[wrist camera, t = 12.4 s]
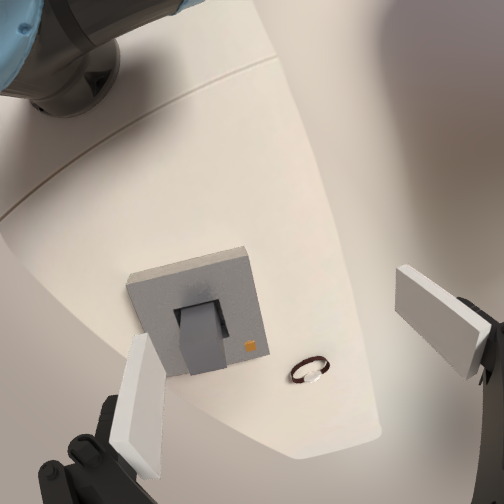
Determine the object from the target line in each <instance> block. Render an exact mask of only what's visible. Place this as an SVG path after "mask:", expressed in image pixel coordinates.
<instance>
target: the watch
mask: <svg viewBox="0 0 504 504" xmlns="http://www.w3.org/2000/svg"><path fill="white" fill-rule="evenodd" d="M315 360H325V361H327V360H326V358H324V357H322V356H316V357H311V358H308V359H305V360H303V361H302V362H300V363H299V364H297V365H296V366H295V367H294V368H293V369H292V371H291V377H292V380H293V382H295V383H303V382H314V381H316V380H318V379H319V378H320V377H321V375H322V374H324V373H325V372H327V371H328V369H329V367H330V364H329V362H328V361H327V363H326V366H325V367H324V368H323V369H321V370H319V371H312V372H310V373H308V374H307V375H306V376H305V377H304V378H300V379H295V378H293V374H294V373H295V371H296V370H297V369H298V368H300V367H301V366H303V365H305V364H308V363H311V362H313V361H315Z"/></svg>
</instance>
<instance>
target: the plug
mask: <svg viewBox="0 0 504 504" xmlns="http://www.w3.org/2000/svg"><path fill="white" fill-rule="evenodd" d="M179 349H180V351H181V354H182V356H183V358H184V361H185V363H186V365H187V368H188V370H189V372H190V374H191V375H196V374H201V373H206V372H210V371H215V370H219V369H224V368H227V363H226V357H225V350H224V343H223V336H222V329H221V322H220V318H219V315H218V311H217V308H216V305H215V301H214V300H212V301H208V302H204V303H199V304H195V305H191V306H186V307H182V309H181V322H180V337H179Z"/></svg>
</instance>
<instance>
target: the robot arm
mask: <svg viewBox="0 0 504 504" xmlns="http://www.w3.org/2000/svg"><path fill="white" fill-rule="evenodd" d="M204 1H205V0H0V95H2V96H10V97H17V98H24V99H28V100H29V101H30V102H31V104H32V105H33V106H34V107H35V108H36V109H37V110H38V111H40V112H41V113H43V114H46V115H48V116H53V117H60V118H67V117H73V116H77V115H79V114H82V113H84V112H86V111H88V110H89V109H91V108H92V107H94V106H95V105H96V104H97V103H99V102H100V101H101V100H102V99H103V97H104V96H105V95H106V94H107V93H108V91H109V90H110V88H111V87H112V85H113V83H114V81H115V79H116V76H117V74H118V70H119V66H120V50H119V46H118V43H117V41H116V39H115V38H117V37H119V36H121V35H123V34H125V33H127V32H130V31H132V30H134V29H136V28H139V27H141V26H143V25H145V24H148V23H150V22H153V21H155V20H158V19H160V18H163V17H165V16H173V15H176V14H177V13H179V12H181V11H182V10H184V9H186V8H189V7H191V6H194V5H197V4H200V3H202V2H204ZM395 311H396V312H397V313H398V314H399V315H400V316H401V317H402V318H403V319H404V320H405V321H406V322H407V323H408V324H409V325H410V326H412V328H414V330H416V331H417V332H418V333H419V334H420V335H421V336H422V337H423V338H424V339H425V340H426V341H427V342H428V343H429V344H430V345H431V346H432V347H433V348H434V349H435V350H436V351H437V352H438V353H439V354H440V355H441V356H442V357H443V358H444V359H445V360H446V361H447V362H448V363H449V364H450V365H451V366H452V367H453V368H454V369H455V371H456V372H457V373H459V375H460V376H461V377H462V378H463V379H464V380H467V379H469V378H471V377H472V376H474V375H475V374H477V372H478V368H479V366H480V364H481V365H483V366H484V367H485V368H484V370H483V373H482V376H481V379H480V382H479V385H481V383H482V381H483V417H482V433H481V445H480V455H479V463H478V470H477V476H476V483H475V488H474V494H473V498H472V502H471V504H504V322H503V323H498V322H497V321H496V320H494V319H493V318H492V317H490V316H489V315H488V314H486V313H485V312H484V311H482V310H480V309H479V308H478V307H477V306H475V305H474V304H473V303H471V302H470V301H469V300H467V299H464V298H461V297H457V298H455V297H454V296H452V295H451V294H449V293H448V292H447V291H445V290H444V289H442V288H441V287H440V286H438V285H437V284H435V283H434V282H432V281H431V280H430V279H428V278H427V277H425V276H424V275H422V274H421V273H420V272H418V271H417V270H415V269H414V268H412V267H411V266H409V265H408V264H406V265H403V266H400V267H397V268H396V295H395ZM165 383H166V372H165V370H164V367H163V365H162V363H161V361H160V359H159V357H158V355H157V352H156V350H155V348H154V346H153V344H152V341H151V339H150V337H149V334H148V333H143V334H138V335H134V336H133V340H132V344H131V347H130V351H129V355H128V359H127V363H126V367H125V371H124V375H123V379H122V383H121V387H120V391H119V395H111V396H108V398H107V399H106V400H105V402H104V403H103V405H102V409H101V415H100V417H99V422H98V425H97V429H96V434H95V437H94V436H93V435H90V434H82V435H79V436H77V437H75V438H74V439H73V440H72V441H71V442H70V444H69V446H68V455H69V457H70V458H71V459H72V460H73V461H74V462H75V464H71V465H67V466H63V465H62V464H61V463H60V462H59V461H56V460H51V461H48V462H46V463H44V464H43V465H42V466H41V467H40V470H39V472H38V478H39V484H40V489H41V495H42V500H43V504H157V502H156V501H155V500H154V499H153V498H152V497H151V496H150V495H149V494H148V493H147V492H146V491H145V490H144V489H143V488H142V487H141V486H140V485H139V484H138V483H137V482H136V475H137V474H138V475H139V476H140V477H141V478H142V479H160V478H161V448H162V427H163V410H164V396H165Z"/></svg>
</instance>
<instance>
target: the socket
mask: <svg viewBox="0 0 504 504" xmlns="http://www.w3.org/2000/svg"><path fill="white" fill-rule="evenodd" d="M126 287H127V290H128V293H129V295H130V298H131V300H132V303H133V305H134V308H135V310H136V312H137V315H138V317H139V320H140V322H141V324H142V327H143V329H144V331H145V333H148V334H149V337H150V339H151V341H152V344H153V346H154V348H155V350H156V352H157V355H158V357H159V359H160V361H161V363H162V365H163V367H164V370H165V372H166V377H171V376H177V375H182V374H187V373H190V372H189V370H188V368H187V365H186V363H185V361H184V358H183V356H182V354H181V351H180V349H179V337H180V322H181V309H182V307H186V306H191V305H195V304H199V303H204V302H208V301H212V300H214V301H215V305H216V308H217V311H218V315H219V318H220V322H221V329H222V336H223V343H224V350H225V357H226V363H227V365H229V364H234V363H238V362H242V361H246V360H250V359H254V358H258V357H262V356H266V355H269V354H270V353H269V348H268V343H267V339H266V334H265V330H264V325H263V321H262V316H261V312H260V307H259V303H258V298H257V293H256V289H255V284H254V280H253V275H252V271H251V266H250V261H249V257H248V254H247V251H246V249H245V247H244V246H242V247H238V248H234V249H230V250H225V251H221V252H217V253H213V254H209V255H205V256H201V257H197V258H193V259H189V260H185V261H181V262H177V263H173V264H169V265H165V266H160V267H156V268H152V269H148V270H144V271H140V272H136V273H132V274H131V275H130V277H129V279H128V281H127V283H126Z"/></svg>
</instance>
